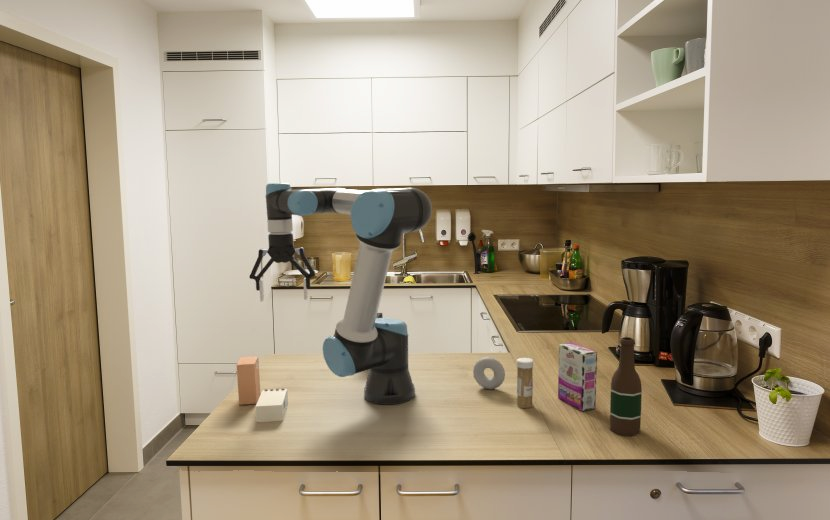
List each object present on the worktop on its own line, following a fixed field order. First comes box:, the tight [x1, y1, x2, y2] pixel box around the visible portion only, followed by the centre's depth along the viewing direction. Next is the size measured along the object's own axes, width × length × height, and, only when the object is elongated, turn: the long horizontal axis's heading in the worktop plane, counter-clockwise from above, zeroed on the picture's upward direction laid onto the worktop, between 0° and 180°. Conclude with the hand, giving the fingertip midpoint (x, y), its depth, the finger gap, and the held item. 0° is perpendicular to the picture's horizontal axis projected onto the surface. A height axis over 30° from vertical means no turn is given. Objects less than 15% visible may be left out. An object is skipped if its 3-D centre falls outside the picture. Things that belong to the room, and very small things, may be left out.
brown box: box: [236, 356, 262, 406], centre depth 173 cm, size 5×7×12 cm
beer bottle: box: [609, 336, 643, 437], centre depth 147 cm, size 8×8×24 cm
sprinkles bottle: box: [516, 357, 534, 409], centre depth 165 cm, size 5×5×14 cm
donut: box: [472, 356, 506, 390], centre depth 179 cm, size 10×4×10 cm, turn 65°
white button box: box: [255, 387, 289, 423], centre depth 164 cm, size 7×12×5 cm, turn 6°
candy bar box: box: [557, 342, 598, 412], centre depth 166 cm, size 11×5×16 cm, turn 23°
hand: (284, 299), depth 186 cm, fingers open, 13 cm apart
